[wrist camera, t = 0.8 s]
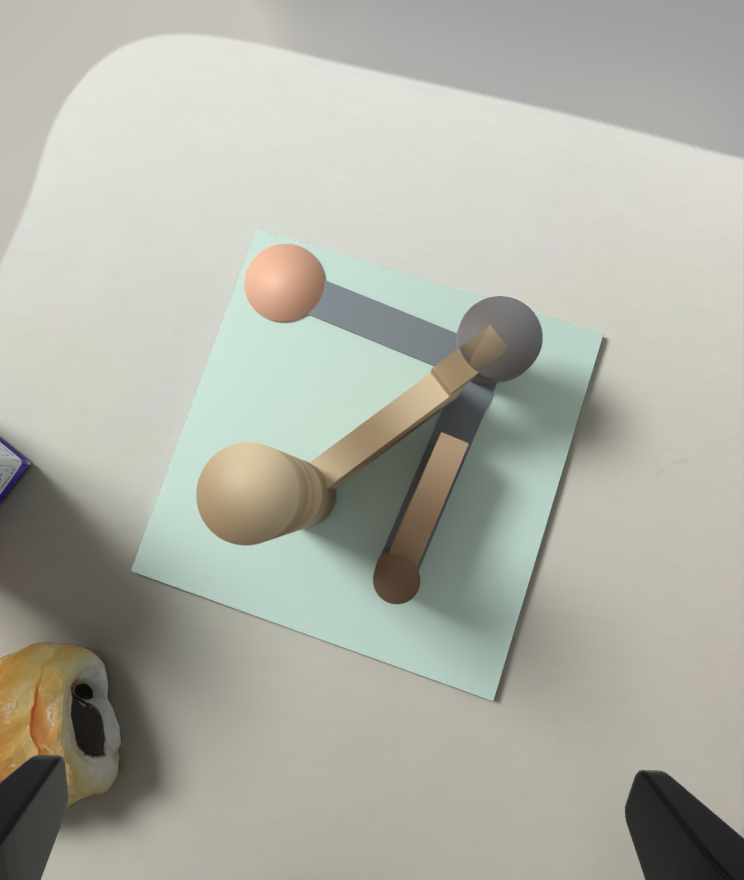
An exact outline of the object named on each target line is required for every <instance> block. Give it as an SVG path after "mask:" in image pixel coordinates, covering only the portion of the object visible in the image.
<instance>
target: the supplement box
mask: <svg viewBox="0 0 744 880" xmlns="http://www.w3.org/2000/svg"><path fill="white" fill-rule="evenodd" d="M30 464H31V462H30V461H28V460H27V459H26V458H25V457H24V456H23V455H21V454H20V453H19V452H18V451H16V450H15V449H14V448H13V447H11V446H10V445H8V444H7V443H6V442H5V441H4V440H2V439H1V438H0V503H1V502H2V500H3V499H4V498H5V497H6V495H7V494H8V493H9V491H10V490H11V489H12V487H13V486H14V485H15V484H16V482H17V481H18V480H19V478H20V477H21V476H22V475H23V473H24V472H25V471H26V470H27V468H28V467H29V466H30Z"/></svg>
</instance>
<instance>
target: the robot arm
mask: <svg viewBox="0 0 744 880" xmlns="http://www.w3.org/2000/svg"><path fill="white" fill-rule="evenodd" d="M67 804H68V785H67V776H66V766H65V760H64V758H63V757H62V756H59V755H35V756H33V757H31V758H29V759H28V760H27V761H25V762H24V763H23V764H22V765H21V766H19V767H18V768H17V769H16V770H15V771H13V772H12V773H11V774H10V775H9V776H7V777H6V778H5V779H4V780H3V781H1V782H0V880H41V877H42V875H43V872H44V869H45V867H46V864H47V861H48V859H49V856H50V853H51V850H52V848H53V845H54V842H55V840H56V837H57V834H58V831H59V829H60V826H61V823H62V821H63V818H64V815H65V812H66V808H67ZM625 817H626V822H627V826H628V829H629V832H630V835H631V838H632V841H633V844H634V847H635V850H636V853H637V856H638V859H639V862H640V865H641V868H642V871H643V874H644V877H645V880H744V838H743V837H741V836H740V835H739V834H738V833H737V832H736V831H734V830H733V829H732V828H731V827H730V826H729V825H727V824H726V823H725V822H724V821H723V820H721V819H720V818H719V817H718V816H717V815H716V814H714V813H713V812H712V811H711V810H710V809H709V808H707V807H706V806H705V805H704V804H703V803H701V802H700V801H699V800H698V799H697V798H696V797H694V796H693V795H692V794H691V793H690V792H689V791H687V790H686V789H685V788H684V787H683V786H682V785H680V784H679V783H678V782H677V781H676V780H674V779H673V778H672V777H671V776H670V775H668V774H667V773H665V772H663V771H656V770H641V771H639V772H638V773H637V774H636V775H635V778H634V781H633V784H632V787H631V790H630V793H629V796H628V799H627V802H626V806H625Z"/></svg>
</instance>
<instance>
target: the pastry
mask: <svg viewBox="0 0 744 880" xmlns="http://www.w3.org/2000/svg"><path fill="white" fill-rule="evenodd" d="M107 692H108V680H107V674H106V670H105V665H104V663H103V662H102V661H101V659H100V658H99V657H98V656H97V655H96V654H94V653H93V652H92V651H91V650H88V649H86V648H83V647H80V646H76V645H68V644H55V643H37V644H32V645H30V646H28V647H26V648H24V649H22V650H20V651H18V652H16V653H13V654H9V655H7V656H5V657H3V658H0V782H1V781H3V780H4V779H5V778H6V777H7V776H9V775H10V774H11V773H12V772H13V771H15V770H16V769H17V768H18V767H19V766H21V765H22V764H23V763H24V762H25V761H27V760H28V759H29V758H31V757H33V756H35V755H59V756H62V757H63V758H64V760H65V766H66V776H67V785H68V804H67V808H68V807H69V806H71V805H72V804H73V803H75V802H77V801H79V800H81V799H83V798H85V797H88V796H90V795H93V794H103V793H104V792H106V791H107V790H108V789H109V788H110V787H111V785H112V784H113V782H114V781H115V779H116V776H117V774H118V762H119V759H120V756H119V753H118V751H119V747H120V746H121V736H120V726H119V723H118V721H117V719H116V716H115V712H114V709H113V707H112V705H111V704H110V702H109V700H108V698H107Z"/></svg>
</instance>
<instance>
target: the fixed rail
mask: <svg viewBox="0 0 744 880" xmlns="http://www.w3.org/2000/svg"><path fill="white" fill-rule="evenodd" d="M471 382H472V383H474V384H478V385H489V384H492V383H493V382H487V381H483V380H481V379H479V378H476V377H475V378H474V379H472V380H471ZM468 444H469V443H466V442H464V441H462V440H459V439H457V438H455V437H452V436H450V435H447V434H445V433H443V432H441V433H440V434H439V436H438V437H437V439H436V442H435V444H434V446H433V449H432V451H431V453H430V456H429V458H428V460H427V463H426V465H425V468H424V470H423V472H422V475H421V477H420V479H419V482H418V484H417V486H416V489H415V491H414V493H413V496H412V498H411V501H410V503H409V505H408V508H407V510H406V512H405V515H404V517H403V519H402V522H401V524H400V526H399V529H398V531H397V534H396V536H395V538H394V541H393V543H392V545H391V548H390V549H388V550H386V551H384V552H383V553H382V554H381V555H380V557H379V558H378V560H377V564H376V567H375V571H374V574H373V586H374V589H375V591H376V593H377V594H378V596H379V597H380V598H381V599H382V600H384V601H386V602H388V603H390V604H403V603H406V602H408V601H410V600H411V599H412V598H413V597H414V596H415V595H416V594H417V592H418V590H419V587H420V574H419V571H418V567H417V566H418V564H419V561H420V559H421V557H422V554H423V552H424V550H425V547H426V545H427V542H428V540H429V538H430V535H431V533H432V530H433V528H434V526H435V523H436V521H437V518H438V516H439V514H440V511H441V509H442V507H443V504H444V502H445V499H446V497H447V495H448V492H449V490H450V487H451V485H452V483H453V480H454V478H455V475H456V473H457V471H458V468H459V466H460V464H461V461H462V459H463V456H464V454H465V452H466V449H467V447H468Z"/></svg>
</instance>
